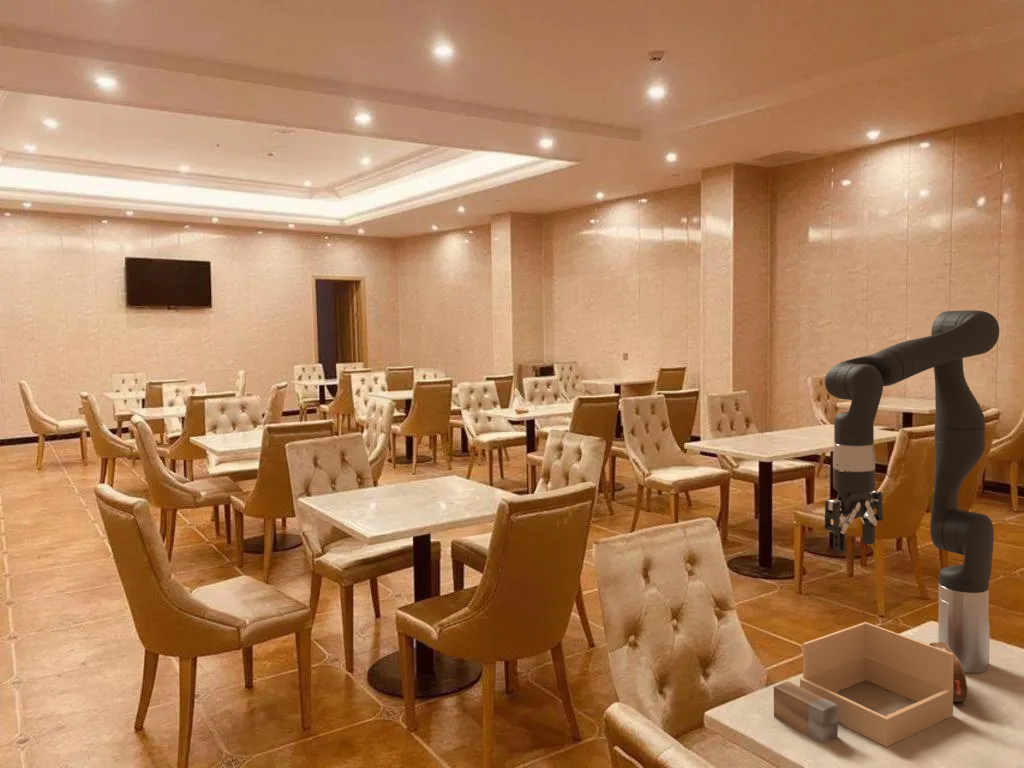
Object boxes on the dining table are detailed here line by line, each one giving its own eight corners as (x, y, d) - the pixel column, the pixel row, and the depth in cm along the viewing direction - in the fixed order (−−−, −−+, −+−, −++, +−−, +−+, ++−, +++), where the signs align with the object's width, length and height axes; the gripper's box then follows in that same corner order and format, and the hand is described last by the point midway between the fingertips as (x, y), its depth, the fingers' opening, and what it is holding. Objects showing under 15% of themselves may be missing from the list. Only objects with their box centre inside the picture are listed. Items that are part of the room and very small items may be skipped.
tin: (968, 710, 148) (969, 667, 147) (950, 709, 149) (951, 666, 148) (942, 674, 163) (942, 635, 162) (925, 673, 163) (925, 634, 163)
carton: (864, 677, 162) (865, 621, 161) (952, 715, 146) (953, 653, 145) (800, 703, 153) (799, 644, 152) (886, 746, 137) (886, 680, 136)
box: (788, 711, 150) (788, 681, 150) (837, 736, 141) (837, 704, 140) (773, 717, 148) (773, 686, 148) (822, 743, 139) (822, 710, 138)
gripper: (860, 458, 159) (861, 536, 160) (813, 468, 152) (813, 549, 153) (894, 464, 152) (894, 545, 153) (846, 474, 145) (846, 559, 146)
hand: (854, 547), depth 153 cm, fingers open, 8 cm apart
